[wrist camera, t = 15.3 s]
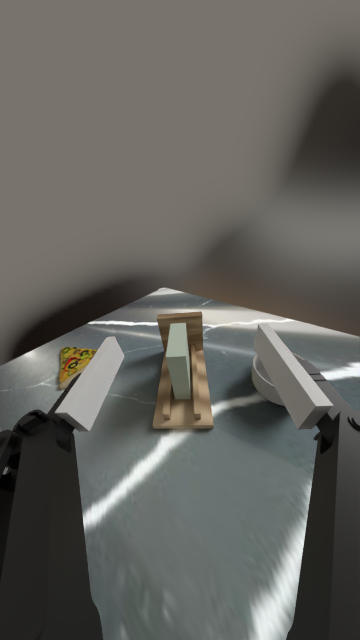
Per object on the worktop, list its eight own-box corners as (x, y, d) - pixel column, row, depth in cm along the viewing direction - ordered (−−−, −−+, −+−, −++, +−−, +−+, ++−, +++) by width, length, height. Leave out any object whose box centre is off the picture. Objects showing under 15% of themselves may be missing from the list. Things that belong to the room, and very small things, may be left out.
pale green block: (190, 399, 32) (185, 356, 25) (175, 399, 33) (165, 357, 25) (189, 363, 41) (185, 322, 33) (177, 363, 41) (170, 323, 33)
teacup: (304, 423, 28) (323, 402, 23) (244, 399, 33) (250, 377, 28) (297, 368, 38) (309, 346, 33) (252, 355, 42) (257, 334, 38)
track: (213, 428, 29) (215, 388, 21) (154, 428, 30) (135, 390, 22) (202, 348, 47) (201, 311, 39) (166, 350, 48) (158, 314, 40)
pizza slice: (65, 394, 39) (59, 388, 37) (39, 364, 49) (33, 359, 48) (114, 356, 49) (110, 349, 48) (84, 338, 60) (80, 332, 58)
